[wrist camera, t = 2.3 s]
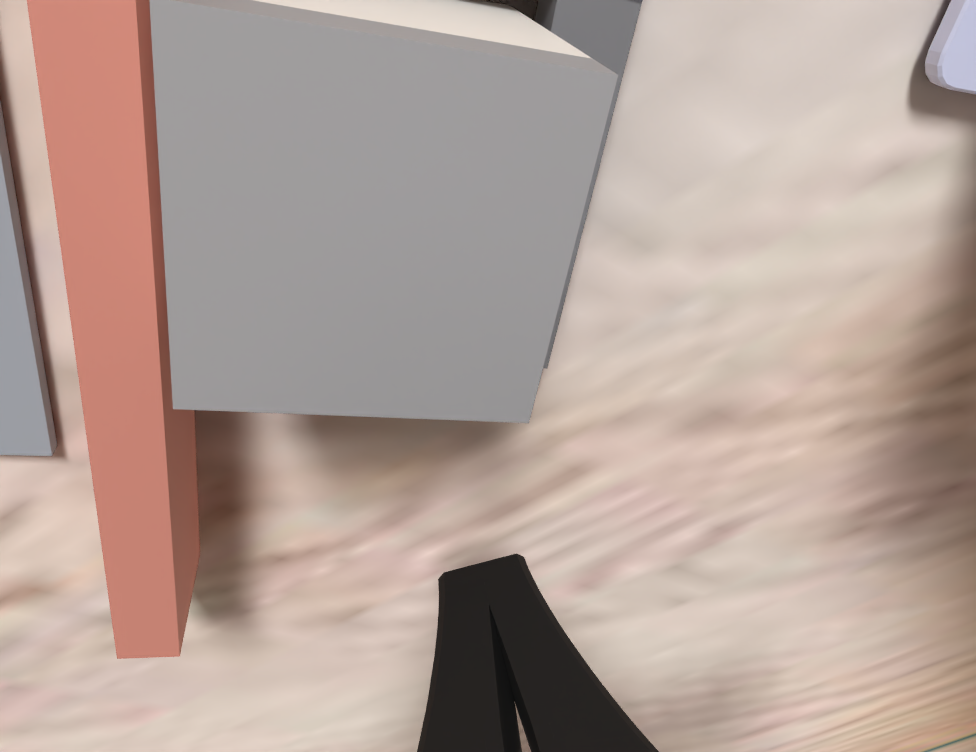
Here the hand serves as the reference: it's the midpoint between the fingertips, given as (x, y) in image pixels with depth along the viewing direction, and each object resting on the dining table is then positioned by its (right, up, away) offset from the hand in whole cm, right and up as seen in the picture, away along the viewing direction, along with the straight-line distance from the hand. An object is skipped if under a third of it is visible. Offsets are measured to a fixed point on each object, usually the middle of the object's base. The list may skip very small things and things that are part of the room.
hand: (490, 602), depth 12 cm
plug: (-2, +8, -1) cm, 8 cm away
